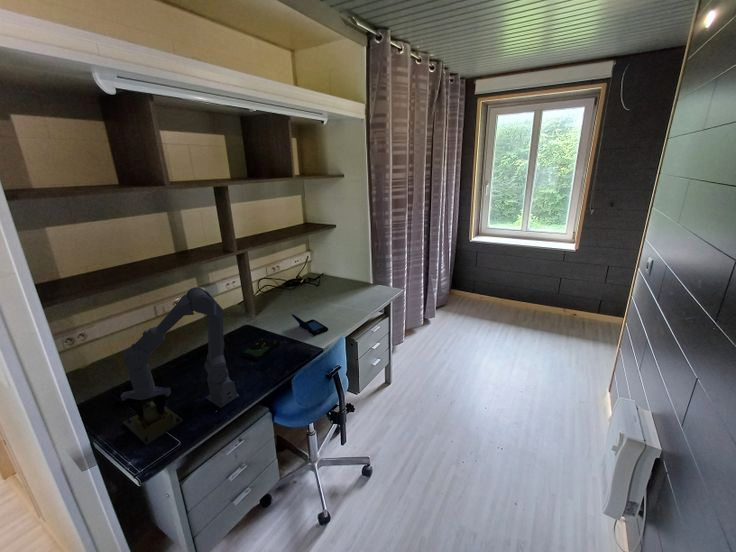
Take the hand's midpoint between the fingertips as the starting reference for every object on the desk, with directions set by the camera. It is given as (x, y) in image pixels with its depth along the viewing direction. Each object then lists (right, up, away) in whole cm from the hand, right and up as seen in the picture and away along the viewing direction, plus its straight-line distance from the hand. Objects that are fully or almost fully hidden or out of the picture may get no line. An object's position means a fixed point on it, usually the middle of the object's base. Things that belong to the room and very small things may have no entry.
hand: (152, 413), depth 113 cm
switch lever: (0, -3, +1) cm, 3 cm away
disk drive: (+23, +11, +45) cm, 52 cm away
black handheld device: (+43, +18, +64) cm, 79 cm away
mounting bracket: (-1, -4, +2) cm, 5 cm away
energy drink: (+2, +12, +47) cm, 48 cm away
